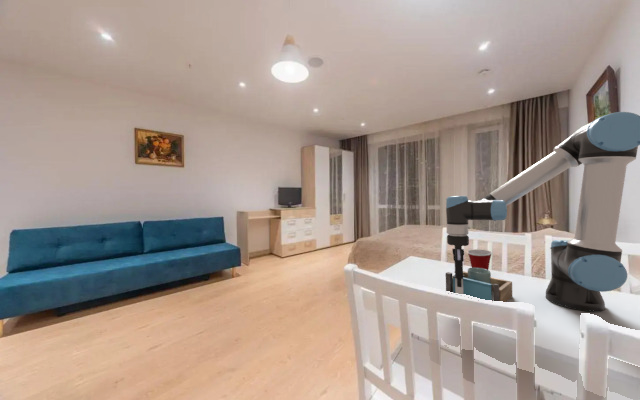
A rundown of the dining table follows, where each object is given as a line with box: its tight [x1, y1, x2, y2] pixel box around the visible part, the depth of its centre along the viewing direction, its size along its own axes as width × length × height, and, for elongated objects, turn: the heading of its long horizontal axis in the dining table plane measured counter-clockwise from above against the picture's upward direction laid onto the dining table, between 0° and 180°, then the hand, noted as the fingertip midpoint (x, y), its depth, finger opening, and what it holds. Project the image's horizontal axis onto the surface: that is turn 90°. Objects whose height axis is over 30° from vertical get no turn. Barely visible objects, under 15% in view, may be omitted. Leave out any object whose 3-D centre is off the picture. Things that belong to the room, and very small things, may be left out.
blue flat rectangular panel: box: [453, 274, 493, 301], centre depth 95 cm, size 14×1×7 cm, turn 36°
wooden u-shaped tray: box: [445, 270, 513, 303], centre depth 99 cm, size 19×15×8 cm
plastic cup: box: [466, 248, 493, 270], centre depth 122 cm, size 11×11×12 cm
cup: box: [467, 267, 492, 284], centre depth 99 cm, size 8×8×10 cm
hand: (459, 294), depth 96 cm, fingers closed
